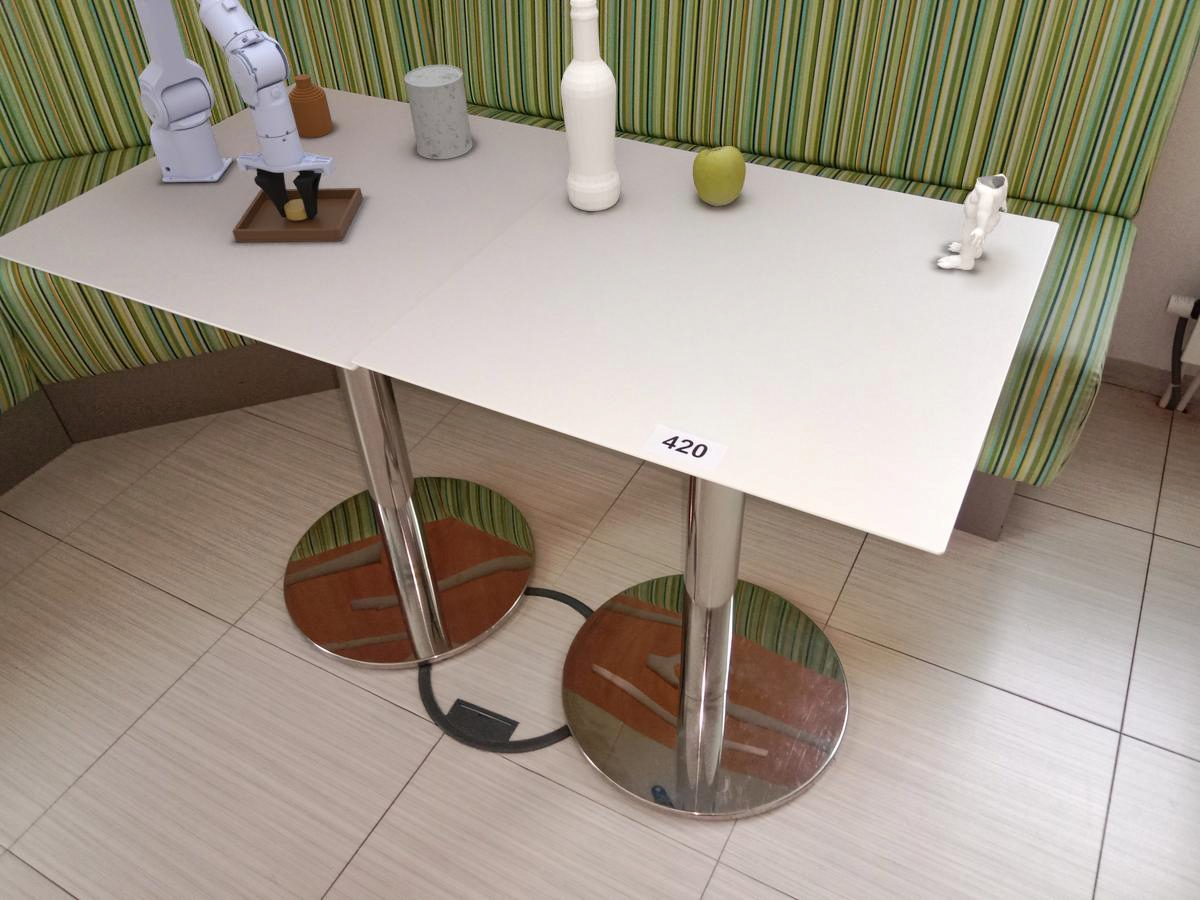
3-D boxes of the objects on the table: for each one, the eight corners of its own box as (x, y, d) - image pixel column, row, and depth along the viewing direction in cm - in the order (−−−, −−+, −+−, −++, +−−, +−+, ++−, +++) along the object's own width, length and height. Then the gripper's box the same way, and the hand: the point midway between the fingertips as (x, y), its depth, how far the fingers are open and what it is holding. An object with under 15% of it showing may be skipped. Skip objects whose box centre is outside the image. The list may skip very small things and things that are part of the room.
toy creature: (956, 236, 137) (974, 156, 129) (999, 246, 134) (1021, 165, 126) (927, 275, 130) (945, 193, 122) (973, 287, 127) (993, 204, 119)
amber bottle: (294, 139, 172) (280, 85, 165) (300, 124, 176) (286, 71, 170) (331, 136, 172) (318, 82, 165) (335, 121, 176) (323, 68, 170)
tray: (236, 242, 145) (232, 231, 143) (263, 200, 155) (260, 189, 153) (341, 241, 144) (338, 229, 142) (363, 198, 153) (360, 187, 152)
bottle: (615, 214, 146) (607, 5, 126) (562, 211, 147) (546, 4, 127) (624, 189, 152) (618, -14, 132) (574, 186, 153) (560, -15, 133)
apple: (754, 204, 144) (737, 143, 138) (702, 219, 146) (683, 160, 140) (751, 180, 150) (735, 120, 144) (702, 195, 152) (683, 137, 146)
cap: (284, 211, 149) (281, 202, 148) (309, 206, 150) (307, 196, 149) (289, 222, 147) (286, 213, 145) (314, 216, 148) (312, 207, 147)
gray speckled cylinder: (438, 164, 161) (426, 91, 153) (406, 148, 167) (392, 76, 159) (483, 146, 166) (474, 74, 158) (451, 130, 171) (440, 60, 163)
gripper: (334, 119, 141) (354, 204, 150) (242, 116, 144) (267, 200, 153) (314, 140, 136) (336, 227, 145) (220, 136, 138) (247, 222, 148)
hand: (300, 215), depth 148 cm, fingers closed on cap, 4 cm apart
